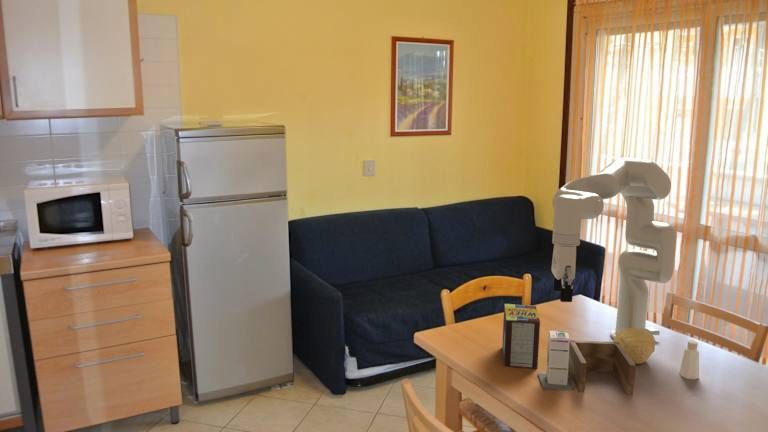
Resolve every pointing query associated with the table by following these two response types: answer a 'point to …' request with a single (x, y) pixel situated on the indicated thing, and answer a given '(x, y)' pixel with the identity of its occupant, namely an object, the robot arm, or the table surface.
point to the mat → (552, 386)
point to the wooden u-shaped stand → (600, 362)
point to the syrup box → (558, 357)
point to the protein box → (521, 336)
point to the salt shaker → (690, 361)
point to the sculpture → (636, 344)
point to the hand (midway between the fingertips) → (562, 296)
